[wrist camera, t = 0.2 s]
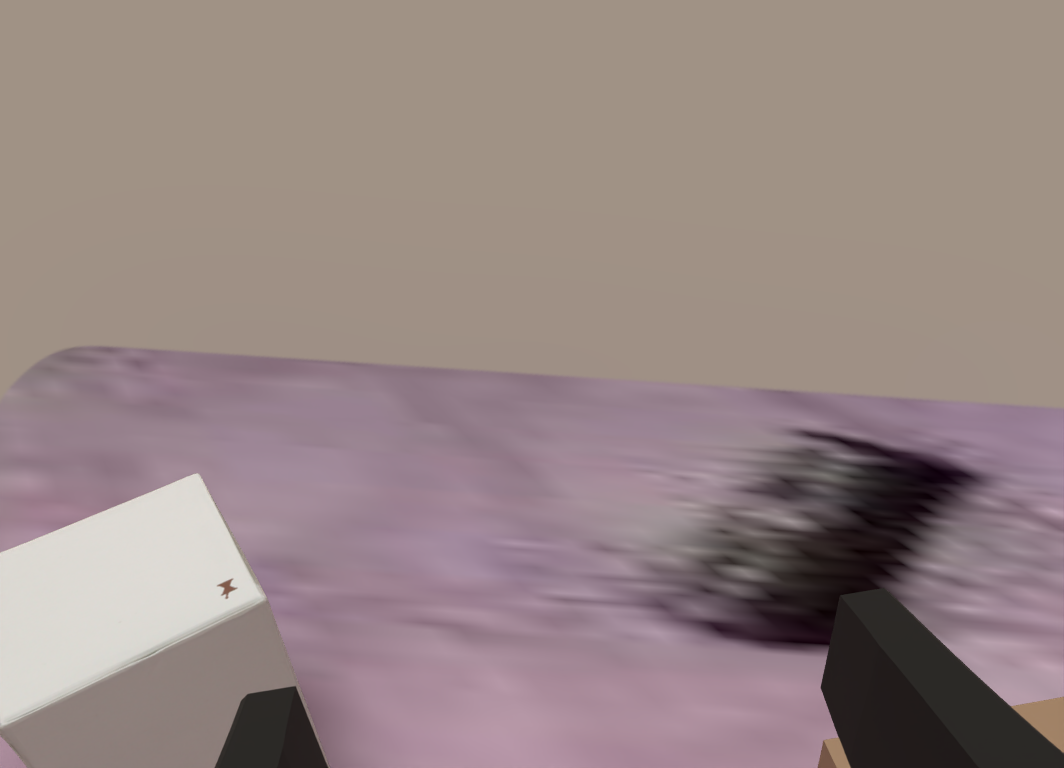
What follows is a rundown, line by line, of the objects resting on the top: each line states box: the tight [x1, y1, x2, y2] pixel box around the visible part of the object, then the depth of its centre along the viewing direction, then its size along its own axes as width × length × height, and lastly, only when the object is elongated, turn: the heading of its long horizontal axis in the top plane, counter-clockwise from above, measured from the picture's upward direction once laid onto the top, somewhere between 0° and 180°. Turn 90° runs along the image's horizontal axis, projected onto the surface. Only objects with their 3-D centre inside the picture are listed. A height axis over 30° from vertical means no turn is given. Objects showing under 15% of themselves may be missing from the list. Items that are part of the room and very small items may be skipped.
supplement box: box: [0, 474, 330, 768], centre depth 29 cm, size 7×7×13 cm
